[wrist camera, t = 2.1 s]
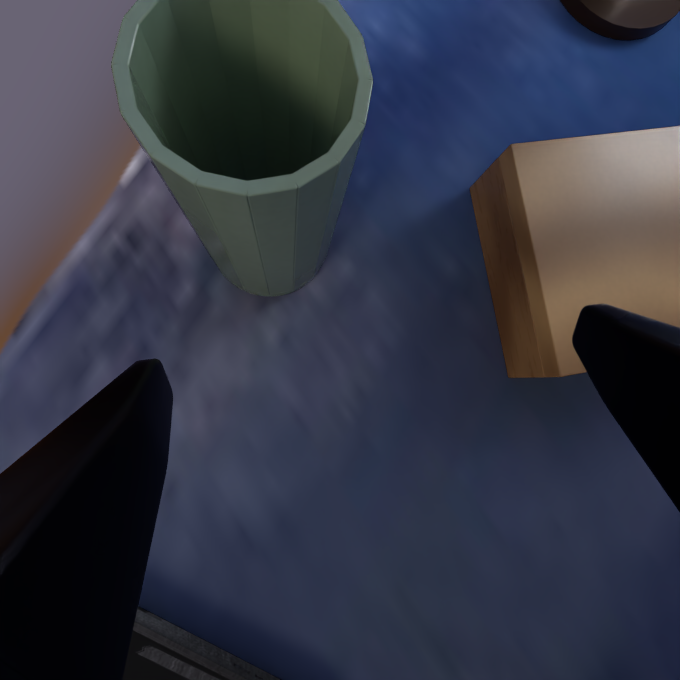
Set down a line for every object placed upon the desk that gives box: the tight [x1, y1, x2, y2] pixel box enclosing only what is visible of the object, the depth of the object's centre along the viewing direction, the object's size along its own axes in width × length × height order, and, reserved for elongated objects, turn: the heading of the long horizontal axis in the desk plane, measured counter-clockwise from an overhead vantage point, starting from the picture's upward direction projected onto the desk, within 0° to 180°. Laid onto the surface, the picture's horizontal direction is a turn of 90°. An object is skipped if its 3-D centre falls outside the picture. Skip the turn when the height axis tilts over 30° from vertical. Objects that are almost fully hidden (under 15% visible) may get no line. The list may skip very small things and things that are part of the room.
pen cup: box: [111, 0, 373, 296], centre depth 17 cm, size 6×6×12 cm
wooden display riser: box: [470, 126, 680, 378], centre depth 23 cm, size 11×14×5 cm
